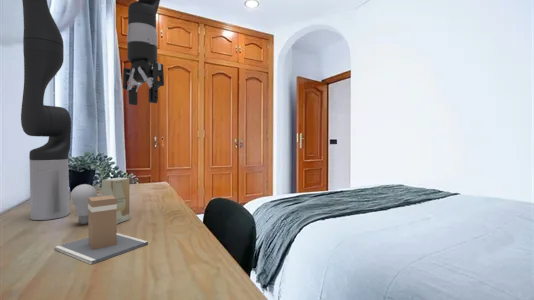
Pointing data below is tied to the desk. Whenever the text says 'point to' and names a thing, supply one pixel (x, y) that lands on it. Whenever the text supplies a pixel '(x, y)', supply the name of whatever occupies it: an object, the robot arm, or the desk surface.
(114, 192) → the skincare box
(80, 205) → the lightbulb
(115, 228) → the card box
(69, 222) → the desk surface
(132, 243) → the mat
